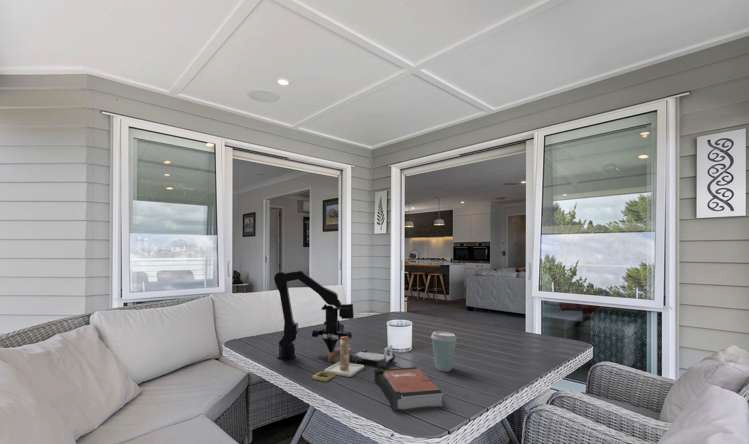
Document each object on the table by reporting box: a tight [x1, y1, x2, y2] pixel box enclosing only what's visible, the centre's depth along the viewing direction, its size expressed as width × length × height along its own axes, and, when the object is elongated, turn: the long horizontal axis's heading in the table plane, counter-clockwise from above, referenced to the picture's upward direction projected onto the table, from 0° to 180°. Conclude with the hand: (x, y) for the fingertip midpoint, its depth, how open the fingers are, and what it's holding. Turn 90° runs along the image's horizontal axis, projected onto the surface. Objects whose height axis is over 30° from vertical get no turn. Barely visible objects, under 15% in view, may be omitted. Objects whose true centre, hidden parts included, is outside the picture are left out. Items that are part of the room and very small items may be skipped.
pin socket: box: [311, 370, 336, 383], centre depth 143 cm, size 6×6×1 cm
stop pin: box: [339, 336, 350, 371], centre depth 152 cm, size 4×4×13 cm
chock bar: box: [327, 346, 353, 363], centre depth 169 cm, size 7×12×4 cm, turn 164°
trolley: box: [349, 344, 396, 370], centre depth 162 cm, size 17×12×8 cm
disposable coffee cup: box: [430, 331, 458, 372], centre depth 154 cm, size 11×11×15 cm
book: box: [374, 366, 444, 412], centre depth 129 cm, size 26×18×5 cm
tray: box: [323, 361, 365, 378], centre depth 152 cm, size 12×12×1 cm
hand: (331, 353), depth 171 cm, fingers closed
